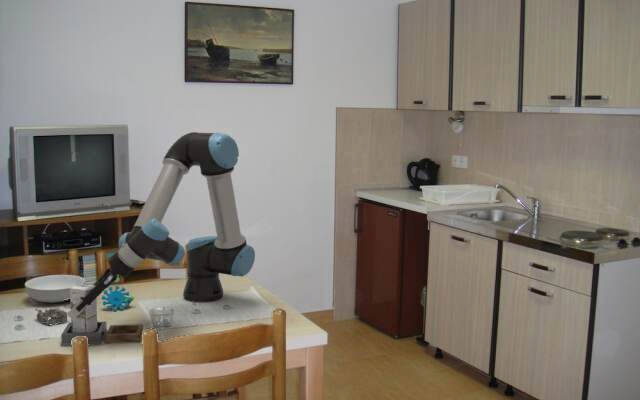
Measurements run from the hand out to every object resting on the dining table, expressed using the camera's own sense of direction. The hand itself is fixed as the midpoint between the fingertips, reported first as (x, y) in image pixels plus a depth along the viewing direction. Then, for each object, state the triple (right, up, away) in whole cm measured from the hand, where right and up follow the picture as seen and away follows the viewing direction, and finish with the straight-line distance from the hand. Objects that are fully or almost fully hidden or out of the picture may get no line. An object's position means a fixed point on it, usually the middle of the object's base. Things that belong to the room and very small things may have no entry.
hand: (72, 312), depth 203 cm
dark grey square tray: (+3, -8, +2) cm, 9 cm away
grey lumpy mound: (-14, -6, +18) cm, 24 cm away
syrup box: (+3, -6, +1) cm, 7 cm away
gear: (+4, -4, +33) cm, 34 cm away
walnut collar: (+15, -8, +4) cm, 17 cm away
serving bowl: (-22, -3, +43) cm, 48 cm away
